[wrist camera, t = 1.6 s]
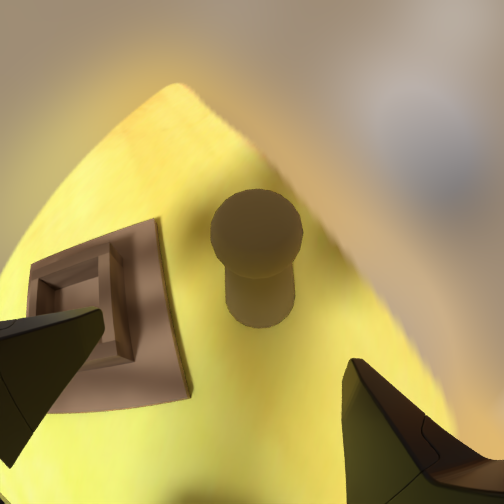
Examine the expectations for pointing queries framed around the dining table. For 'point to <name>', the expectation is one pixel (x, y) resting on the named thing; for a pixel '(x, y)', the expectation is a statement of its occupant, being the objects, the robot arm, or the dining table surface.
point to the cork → (257, 255)
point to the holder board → (115, 320)
